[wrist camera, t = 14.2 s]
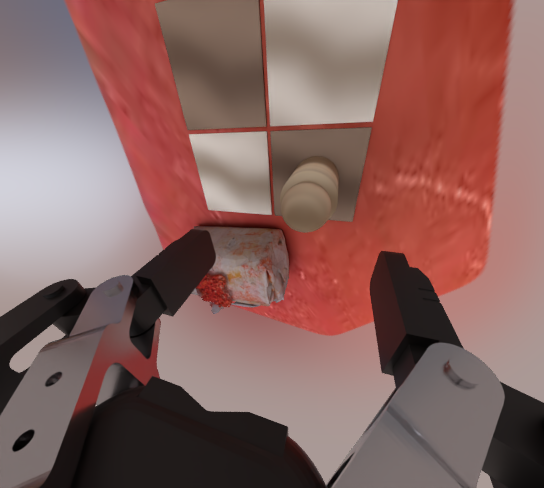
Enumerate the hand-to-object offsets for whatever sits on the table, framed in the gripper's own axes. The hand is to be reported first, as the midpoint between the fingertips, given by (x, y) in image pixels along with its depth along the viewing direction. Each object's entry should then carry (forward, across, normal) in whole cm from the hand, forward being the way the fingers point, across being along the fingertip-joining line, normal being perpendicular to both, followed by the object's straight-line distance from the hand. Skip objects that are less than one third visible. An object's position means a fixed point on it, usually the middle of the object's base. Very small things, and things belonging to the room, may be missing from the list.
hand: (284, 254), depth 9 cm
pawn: (+13, 0, 0) cm, 13 cm away
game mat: (+13, +4, -4) cm, 14 cm away
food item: (+13, +9, +10) cm, 19 cm away
